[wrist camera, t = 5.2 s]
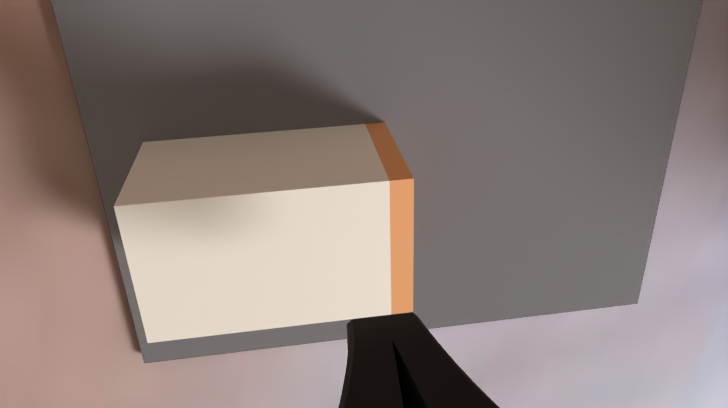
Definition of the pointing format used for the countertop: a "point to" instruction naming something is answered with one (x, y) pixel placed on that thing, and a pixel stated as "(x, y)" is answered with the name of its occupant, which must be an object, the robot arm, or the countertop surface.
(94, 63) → the mat
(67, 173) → the countertop surface
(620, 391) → the countertop surface
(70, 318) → the countertop surface
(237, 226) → the tall block
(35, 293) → the countertop surface
